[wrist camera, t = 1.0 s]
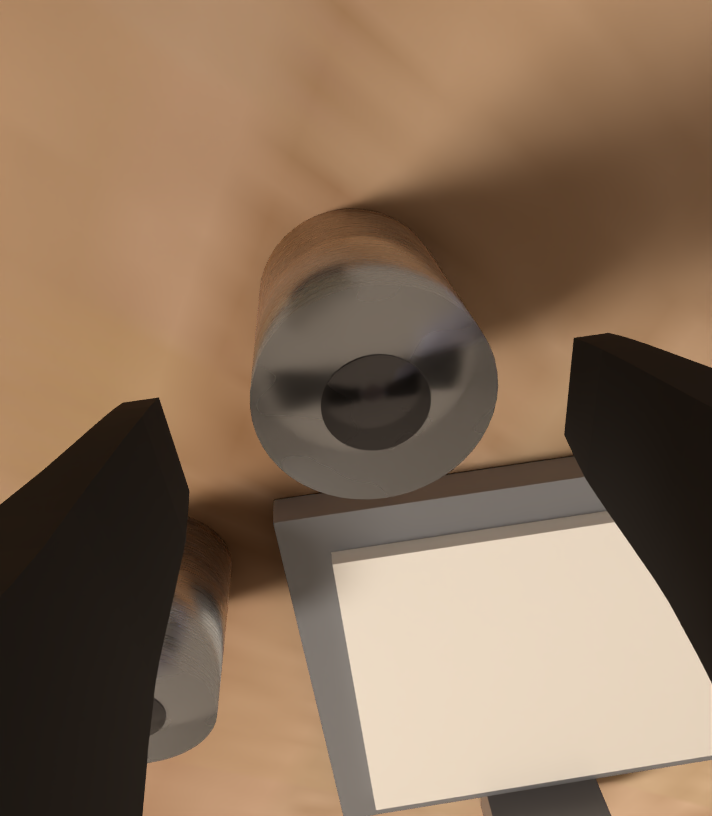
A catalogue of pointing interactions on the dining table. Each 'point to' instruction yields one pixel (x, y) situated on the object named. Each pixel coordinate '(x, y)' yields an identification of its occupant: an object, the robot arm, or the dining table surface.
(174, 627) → the steel spacer
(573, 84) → the dining table surface
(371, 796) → the kitchen scale
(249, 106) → the dining table surface
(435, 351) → the steel spacer
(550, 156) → the dining table surface
